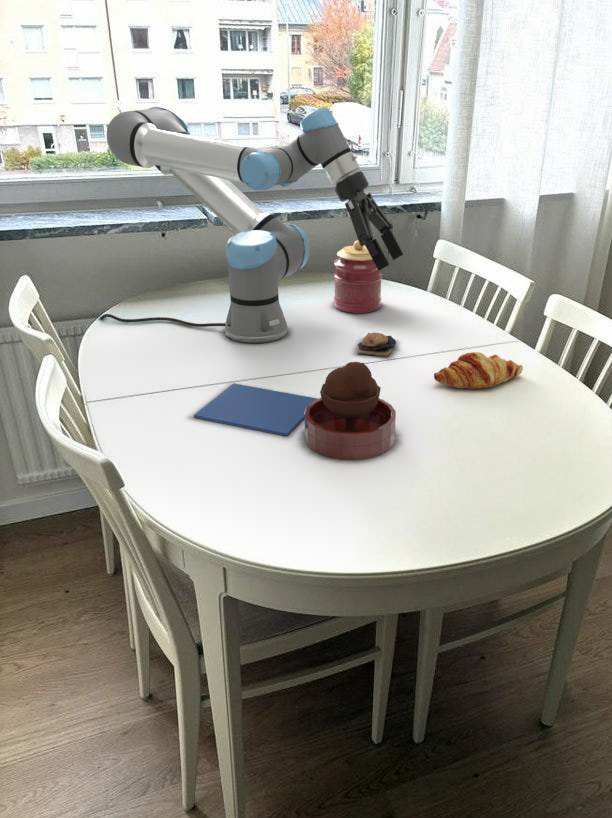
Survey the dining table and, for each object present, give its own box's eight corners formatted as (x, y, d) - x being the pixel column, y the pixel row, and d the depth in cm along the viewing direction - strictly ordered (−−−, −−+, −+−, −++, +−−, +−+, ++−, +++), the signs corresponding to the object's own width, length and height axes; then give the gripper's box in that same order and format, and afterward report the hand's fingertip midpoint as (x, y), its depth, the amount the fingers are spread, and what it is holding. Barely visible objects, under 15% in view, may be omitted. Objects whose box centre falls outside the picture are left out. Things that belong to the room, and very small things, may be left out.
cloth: (193, 417, 141) (193, 414, 141) (233, 385, 154) (233, 383, 154) (287, 436, 136) (287, 433, 135) (320, 401, 149) (320, 399, 148)
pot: (290, 449, 132) (289, 424, 129) (326, 411, 145) (325, 387, 142) (377, 467, 127) (378, 441, 124) (405, 426, 140) (407, 401, 137)
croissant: (512, 384, 165) (508, 349, 165) (536, 381, 156) (532, 343, 155) (427, 395, 159) (423, 358, 158) (447, 392, 149) (443, 353, 148)
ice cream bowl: (380, 424, 140) (383, 350, 132) (375, 452, 131) (378, 375, 123) (325, 420, 141) (325, 347, 133) (317, 448, 131) (316, 371, 123)
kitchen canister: (339, 296, 206) (339, 232, 197) (384, 300, 204) (387, 236, 195) (328, 311, 195) (328, 244, 186) (376, 315, 193) (378, 248, 184)
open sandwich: (389, 358, 169) (390, 343, 167) (354, 354, 170) (354, 339, 168) (398, 342, 178) (399, 327, 176) (364, 338, 179) (365, 324, 177)
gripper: (343, 173, 154) (391, 264, 160) (375, 165, 176) (416, 245, 181) (315, 192, 158) (363, 280, 163) (349, 182, 179) (391, 260, 184)
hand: (391, 262), depth 172 cm, fingers open, 13 cm apart
